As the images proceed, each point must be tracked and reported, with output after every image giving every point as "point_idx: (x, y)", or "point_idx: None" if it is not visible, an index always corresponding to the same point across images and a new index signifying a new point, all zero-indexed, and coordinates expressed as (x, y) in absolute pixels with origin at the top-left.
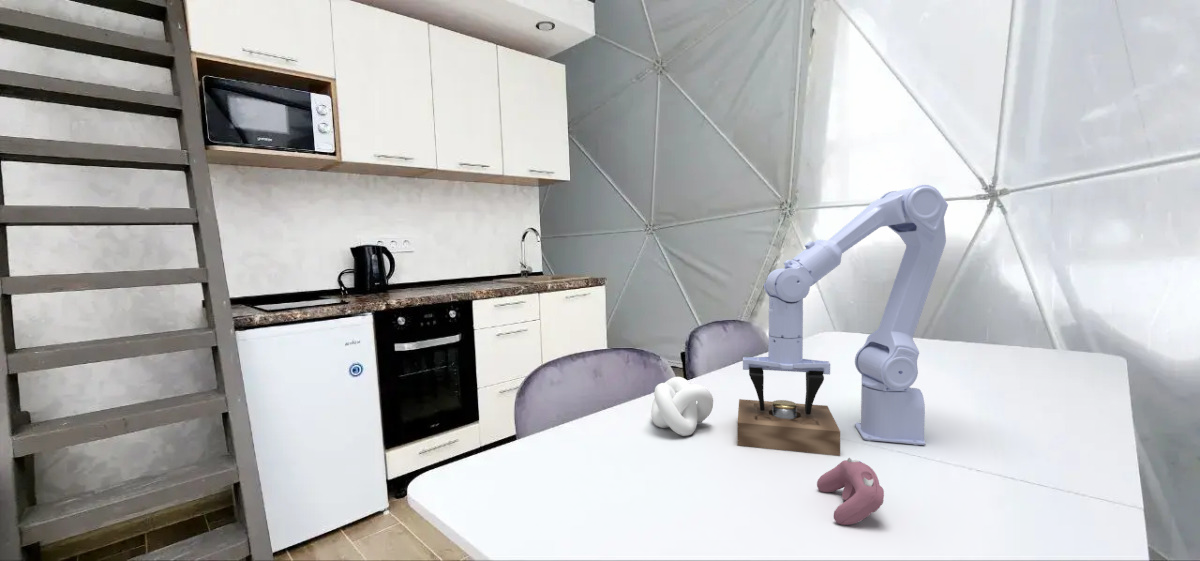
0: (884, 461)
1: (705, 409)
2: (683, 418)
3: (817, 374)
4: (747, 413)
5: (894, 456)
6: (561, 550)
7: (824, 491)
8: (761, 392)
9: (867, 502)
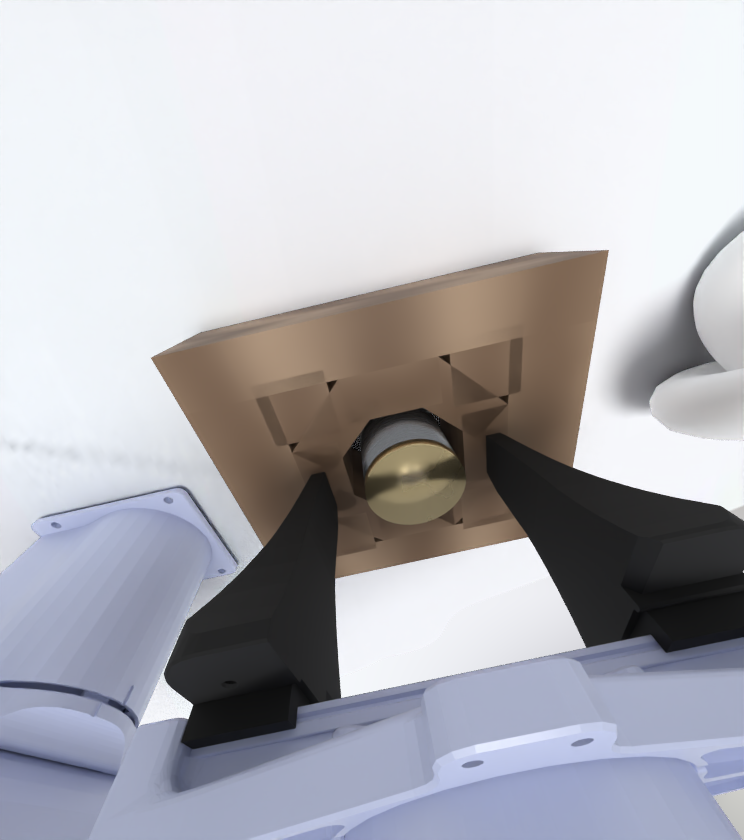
0: (66, 355)
1: (716, 374)
2: None
3: (232, 700)
4: (546, 402)
5: (64, 412)
6: None
7: None
8: (551, 473)
9: None
